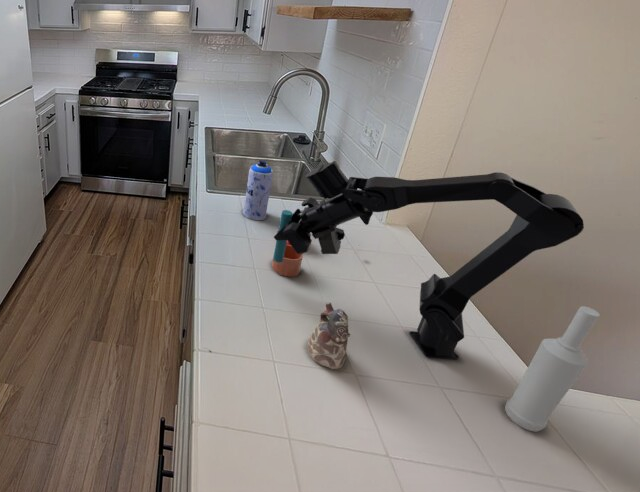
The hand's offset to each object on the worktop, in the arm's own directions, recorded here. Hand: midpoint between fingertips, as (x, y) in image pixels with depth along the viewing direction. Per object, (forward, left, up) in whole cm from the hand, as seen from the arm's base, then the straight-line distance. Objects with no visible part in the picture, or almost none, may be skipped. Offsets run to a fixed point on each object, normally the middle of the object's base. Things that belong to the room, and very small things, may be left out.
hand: (276, 236), depth 97 cm
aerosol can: (+34, -4, -14) cm, 37 cm away
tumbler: (+5, -6, -14) cm, 16 cm away
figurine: (-23, -6, -14) cm, 27 cm away
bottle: (-34, -36, -14) cm, 51 cm away
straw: (-1, -1, -7) cm, 7 cm away
